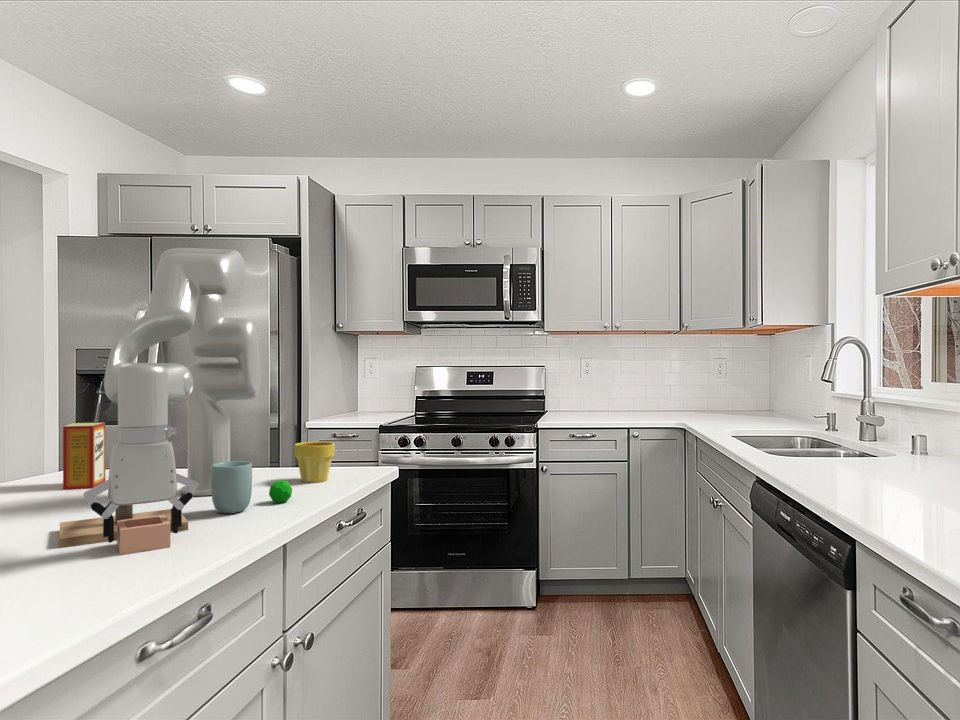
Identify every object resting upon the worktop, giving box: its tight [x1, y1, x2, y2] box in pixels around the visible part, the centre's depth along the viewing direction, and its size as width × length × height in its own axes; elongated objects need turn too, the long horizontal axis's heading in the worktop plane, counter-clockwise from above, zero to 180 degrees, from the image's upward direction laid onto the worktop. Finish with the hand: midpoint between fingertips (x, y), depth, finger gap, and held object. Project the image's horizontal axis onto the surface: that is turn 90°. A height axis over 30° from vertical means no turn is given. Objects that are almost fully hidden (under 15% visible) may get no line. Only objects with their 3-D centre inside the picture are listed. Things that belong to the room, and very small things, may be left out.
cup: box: [211, 460, 253, 515], centre depth 130 cm, size 8×8×10 cm
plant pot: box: [293, 441, 336, 483], centre depth 165 cm, size 10×10×10 cm
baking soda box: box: [62, 421, 106, 491], centre depth 159 cm, size 10×6×16 cm
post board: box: [58, 504, 189, 548], centre depth 116 cm, size 20×13×8 cm, turn 124°
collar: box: [116, 515, 171, 555], centre depth 106 cm, size 7×7×4 cm
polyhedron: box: [268, 479, 293, 504], centre depth 139 cm, size 5×5×5 cm
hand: (143, 536), depth 106 cm, fingers open, 9 cm apart
